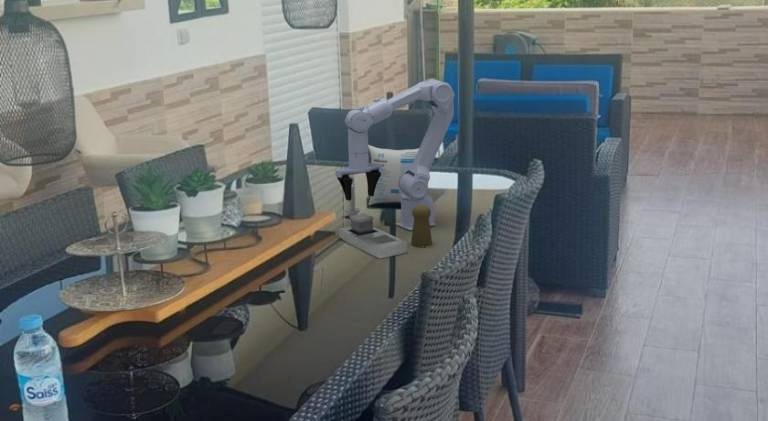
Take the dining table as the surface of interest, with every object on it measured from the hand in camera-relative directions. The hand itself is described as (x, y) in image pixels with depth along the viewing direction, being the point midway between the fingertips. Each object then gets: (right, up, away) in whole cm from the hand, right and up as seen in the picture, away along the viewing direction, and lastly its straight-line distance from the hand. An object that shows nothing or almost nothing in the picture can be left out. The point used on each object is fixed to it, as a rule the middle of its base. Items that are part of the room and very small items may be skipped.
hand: (359, 197), depth 265 cm
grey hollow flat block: (+4, -14, -10) cm, 17 cm away
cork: (+18, -13, -9) cm, 24 cm away
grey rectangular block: (+1, -12, -5) cm, 13 cm away
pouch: (+11, -3, +29) cm, 31 cm away
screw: (-3, -6, +18) cm, 19 cm away
